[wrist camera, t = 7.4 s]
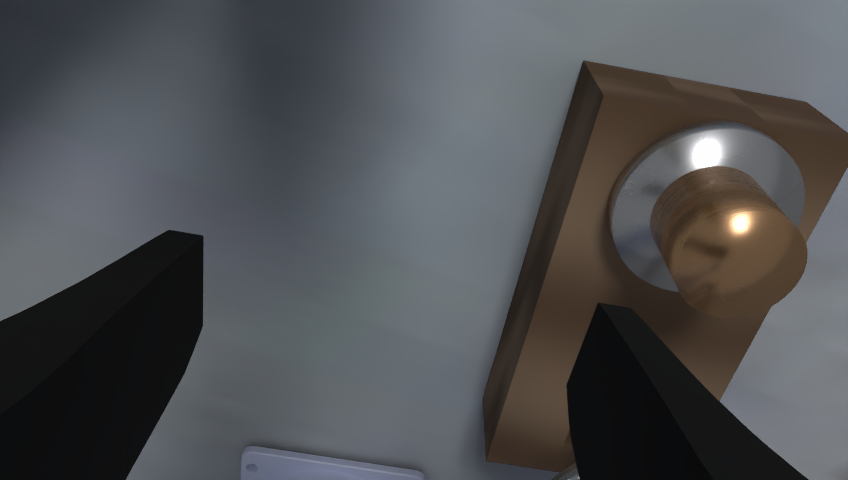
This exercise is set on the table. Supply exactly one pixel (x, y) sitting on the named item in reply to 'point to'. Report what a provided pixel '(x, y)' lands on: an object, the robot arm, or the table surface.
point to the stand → (600, 261)
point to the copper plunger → (713, 218)
